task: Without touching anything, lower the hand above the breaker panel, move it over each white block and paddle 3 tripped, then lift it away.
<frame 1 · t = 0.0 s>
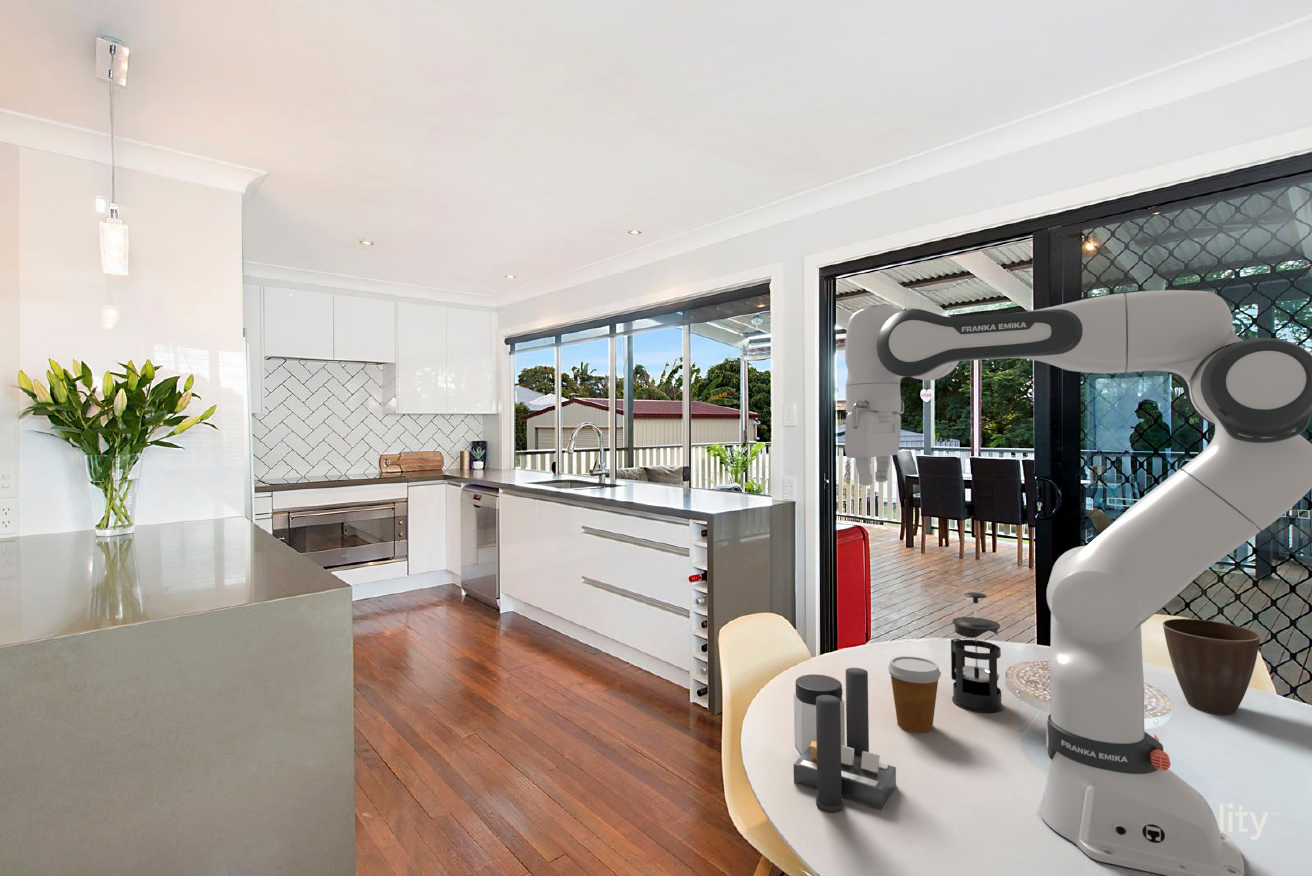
hand: (873, 483, 108), 48 cm above the table, fingers open, 8 cm apart
paddle 3 tripped: (818, 751, 104), point 5 cm above the table, hinge at -20.0°
white block 1: (870, 761, 101), point 5 cm above the table, hinge at 20.0°
cord post outer: (829, 805, 97), on the table
white block 2: (845, 754, 103), point 5 cm above the table, hinge at 20.0°
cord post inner: (857, 765, 108), on the table
plant pot: (1211, 708, 129), on the table
jar: (819, 750, 114), on the table
french press: (975, 703, 133), on the table
disposable coffee cup: (914, 726, 123), on the table
breaker panel: (844, 784, 102), on the table
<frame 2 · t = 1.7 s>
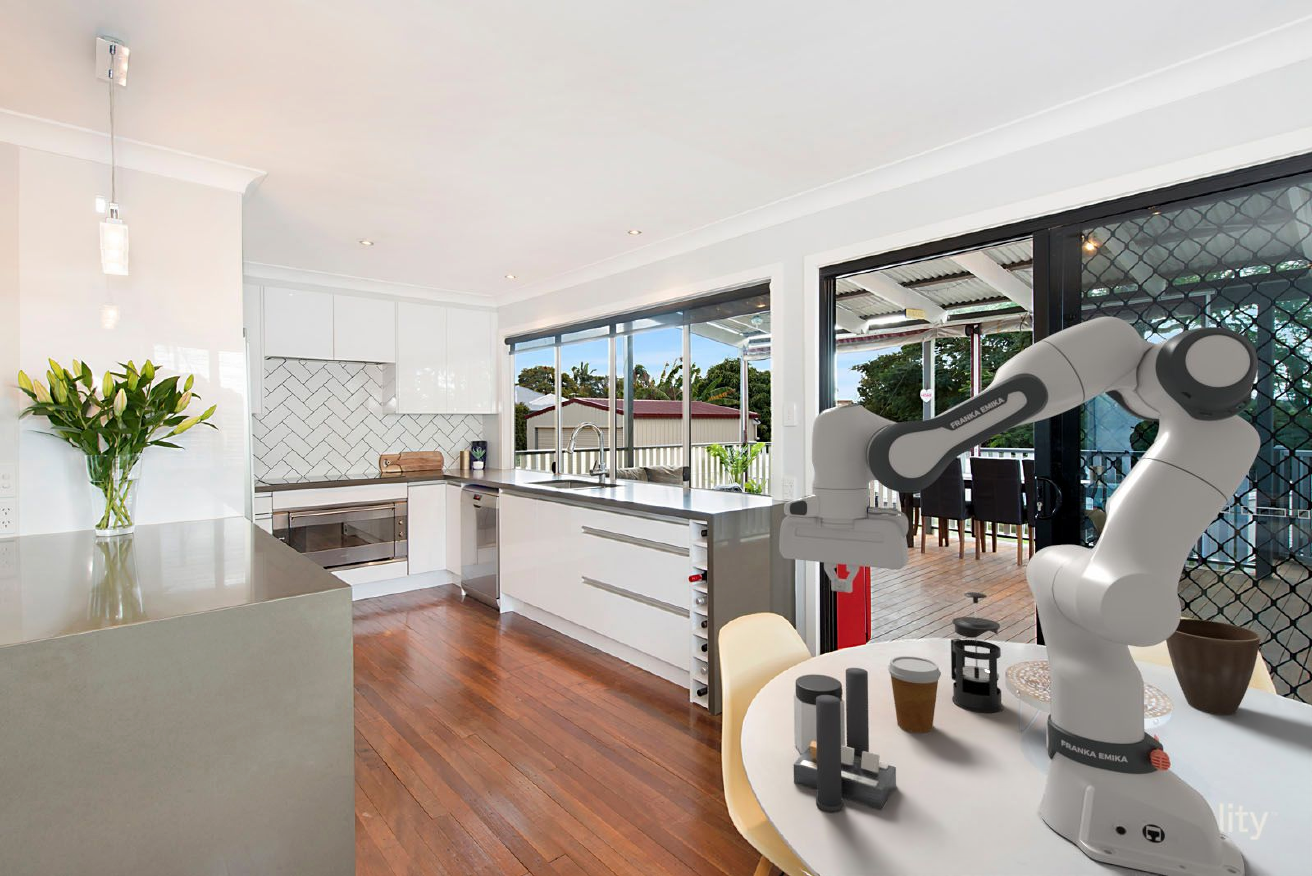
hand: (841, 591, 102), 31 cm above the table, fingers closed
nothing on the table moved.
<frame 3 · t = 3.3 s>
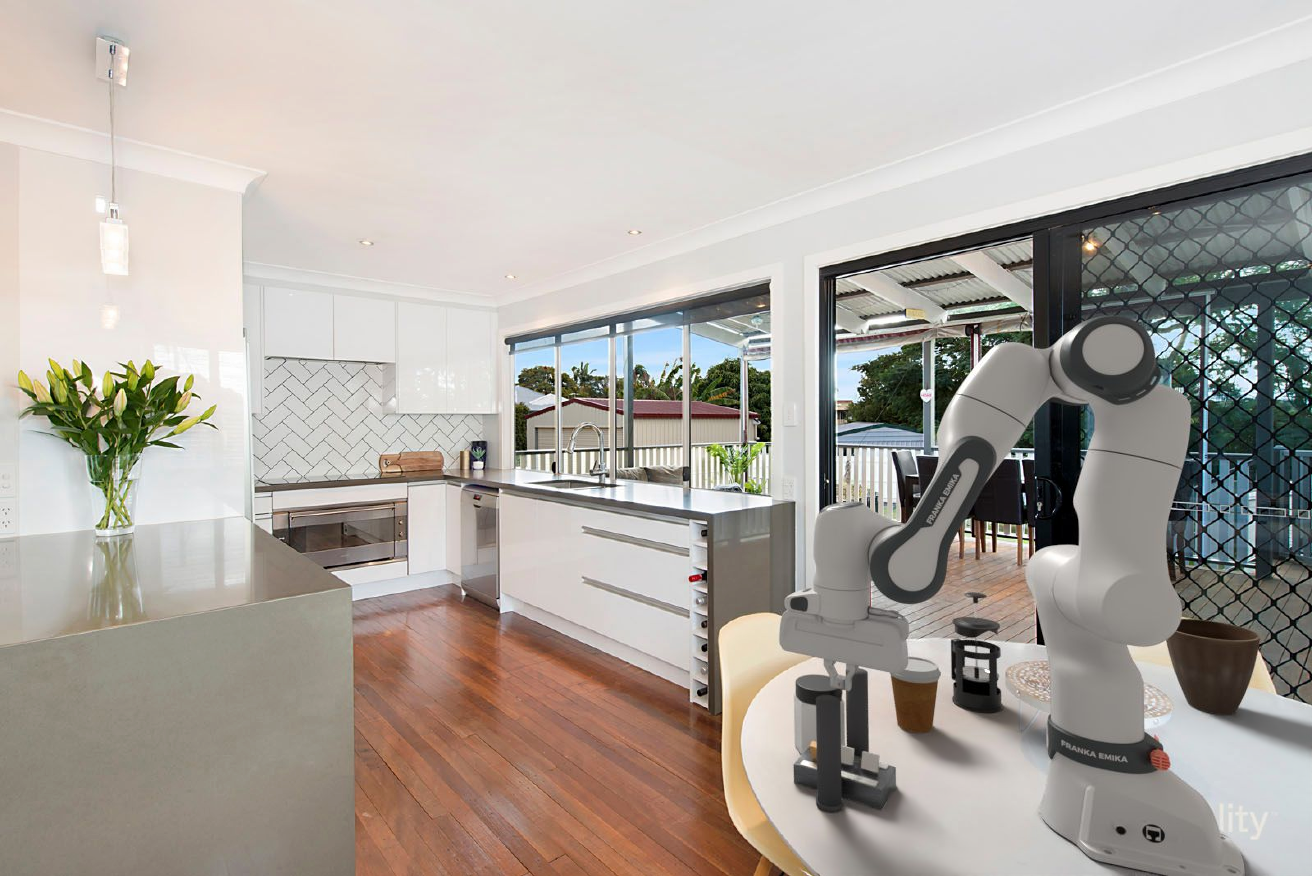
hand: (840, 688, 103), 15 cm above the table, fingers closed
nothing on the table moved.
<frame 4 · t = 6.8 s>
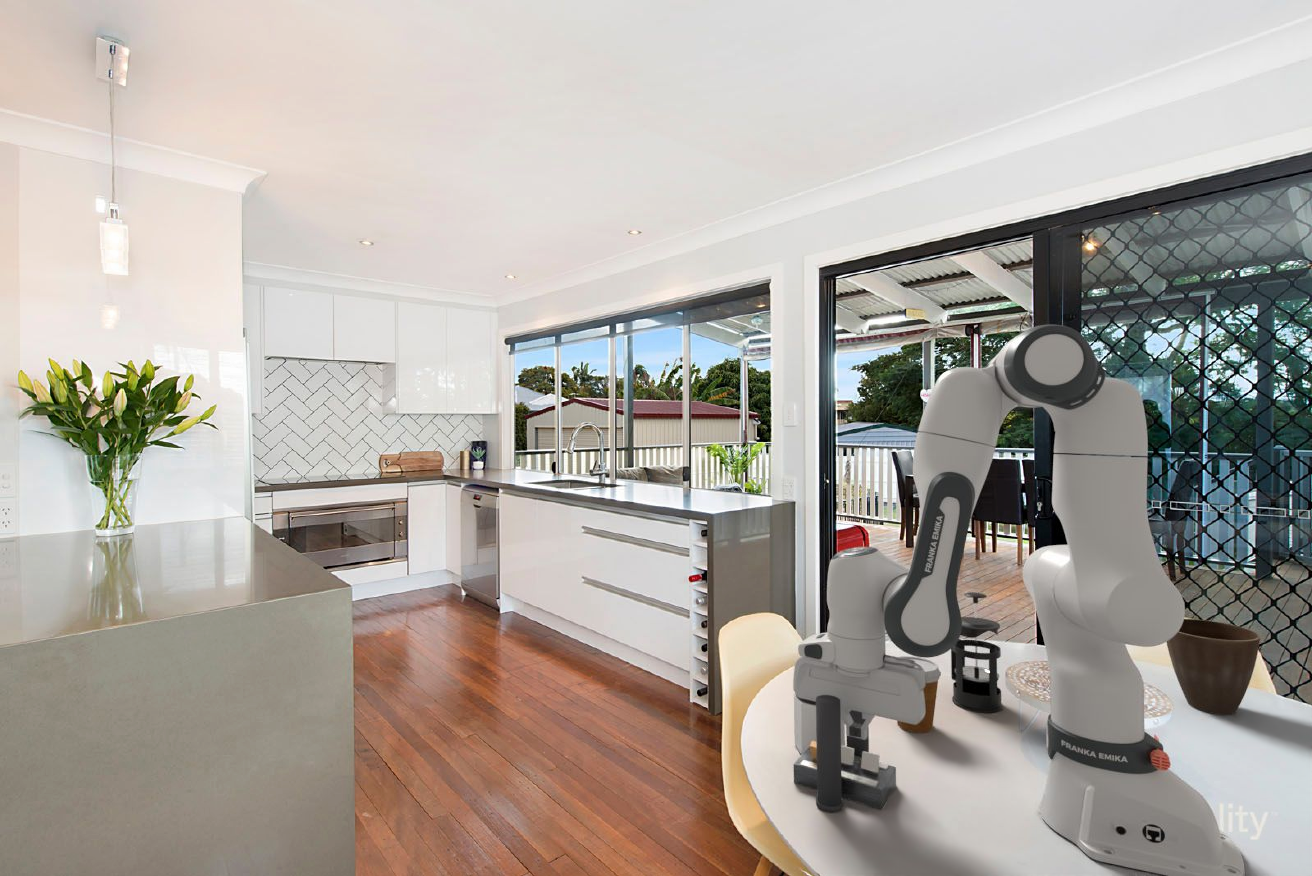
hand: (857, 736, 101), 8 cm above the table, fingers closed
nothing on the table moved.
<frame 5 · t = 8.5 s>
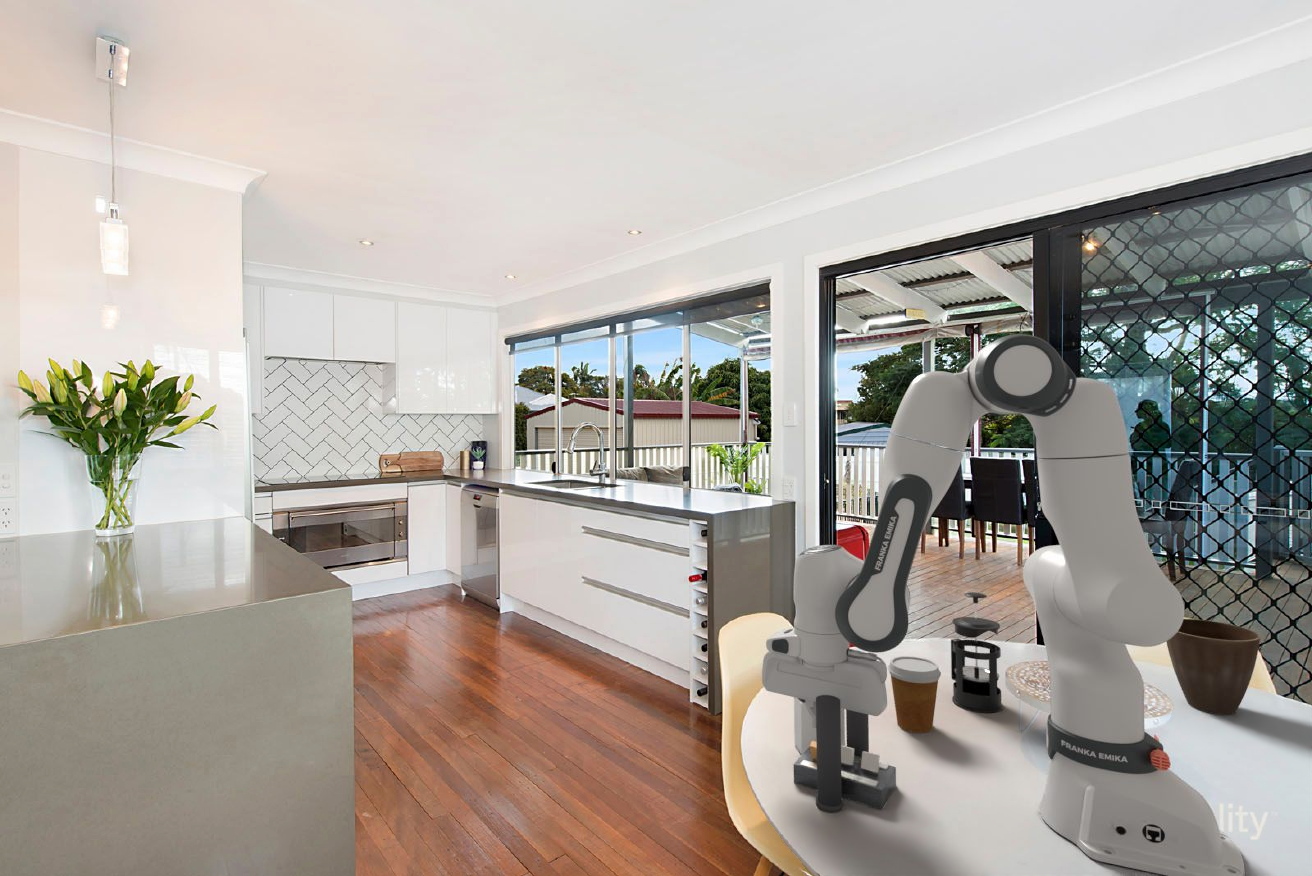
hand: (822, 728, 104), 8 cm above the table, fingers closed
nothing on the table moved.
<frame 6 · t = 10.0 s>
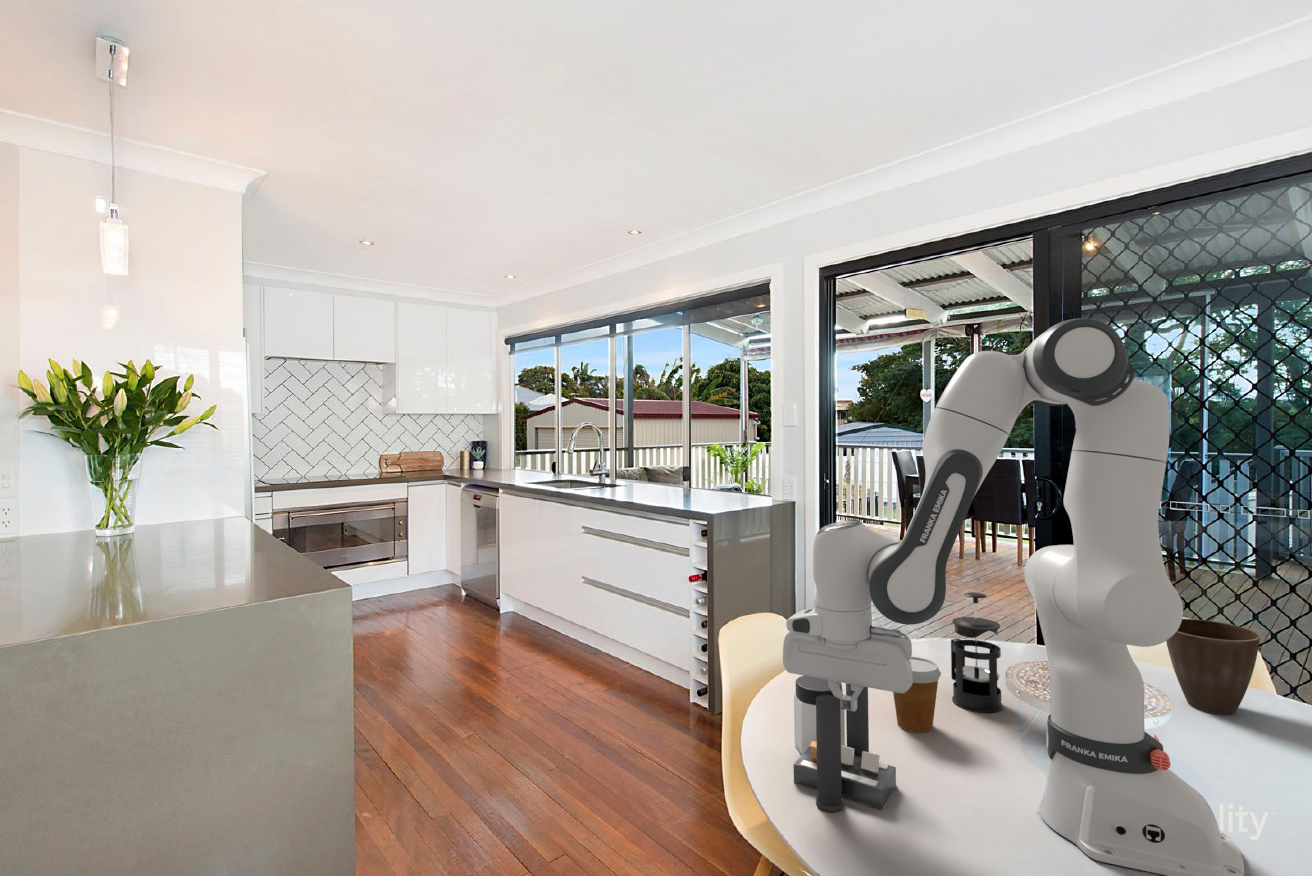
hand: (846, 708, 102), 12 cm above the table, fingers closed
nothing on the table moved.
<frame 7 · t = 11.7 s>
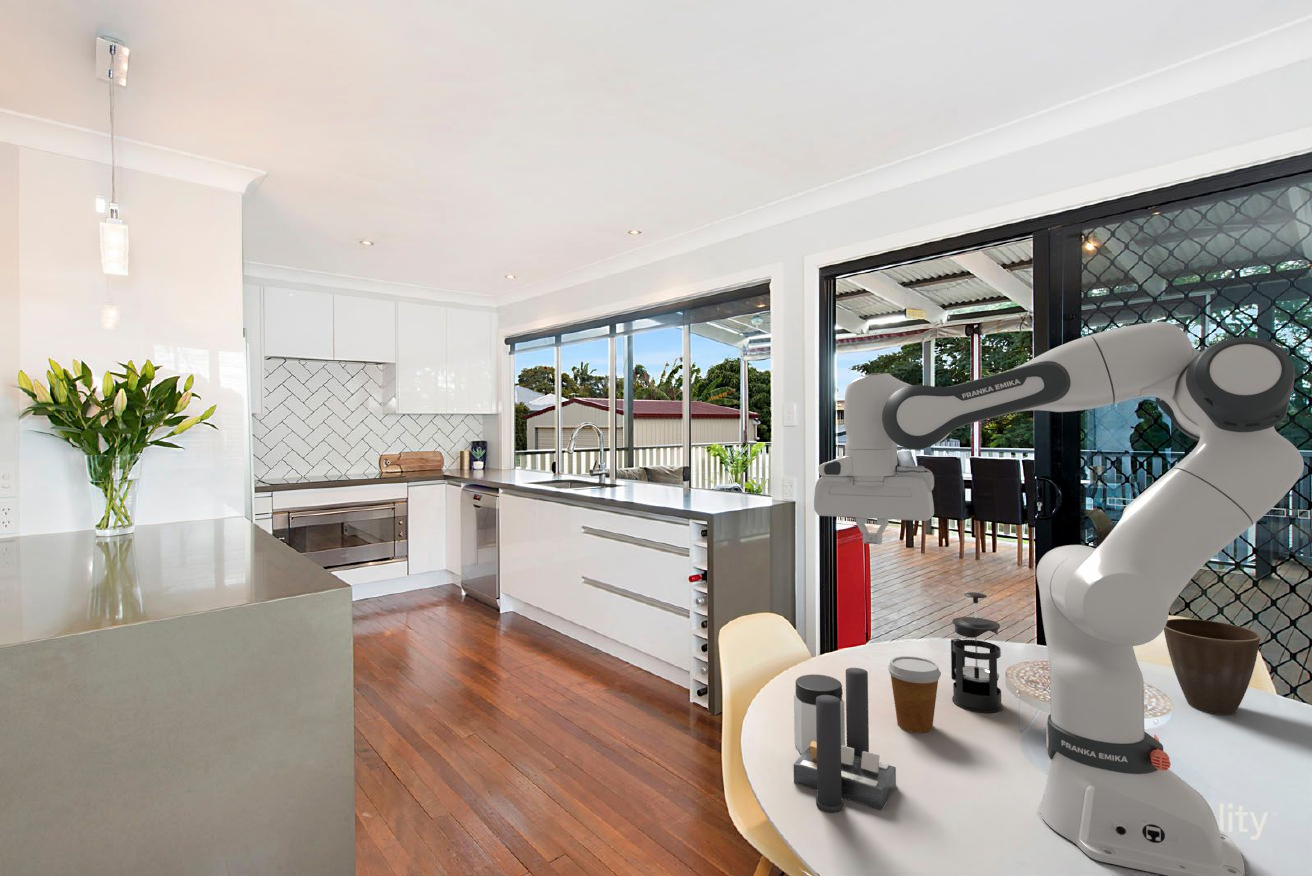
hand: (872, 543, 113), 37 cm above the table, fingers closed
nothing on the table moved.
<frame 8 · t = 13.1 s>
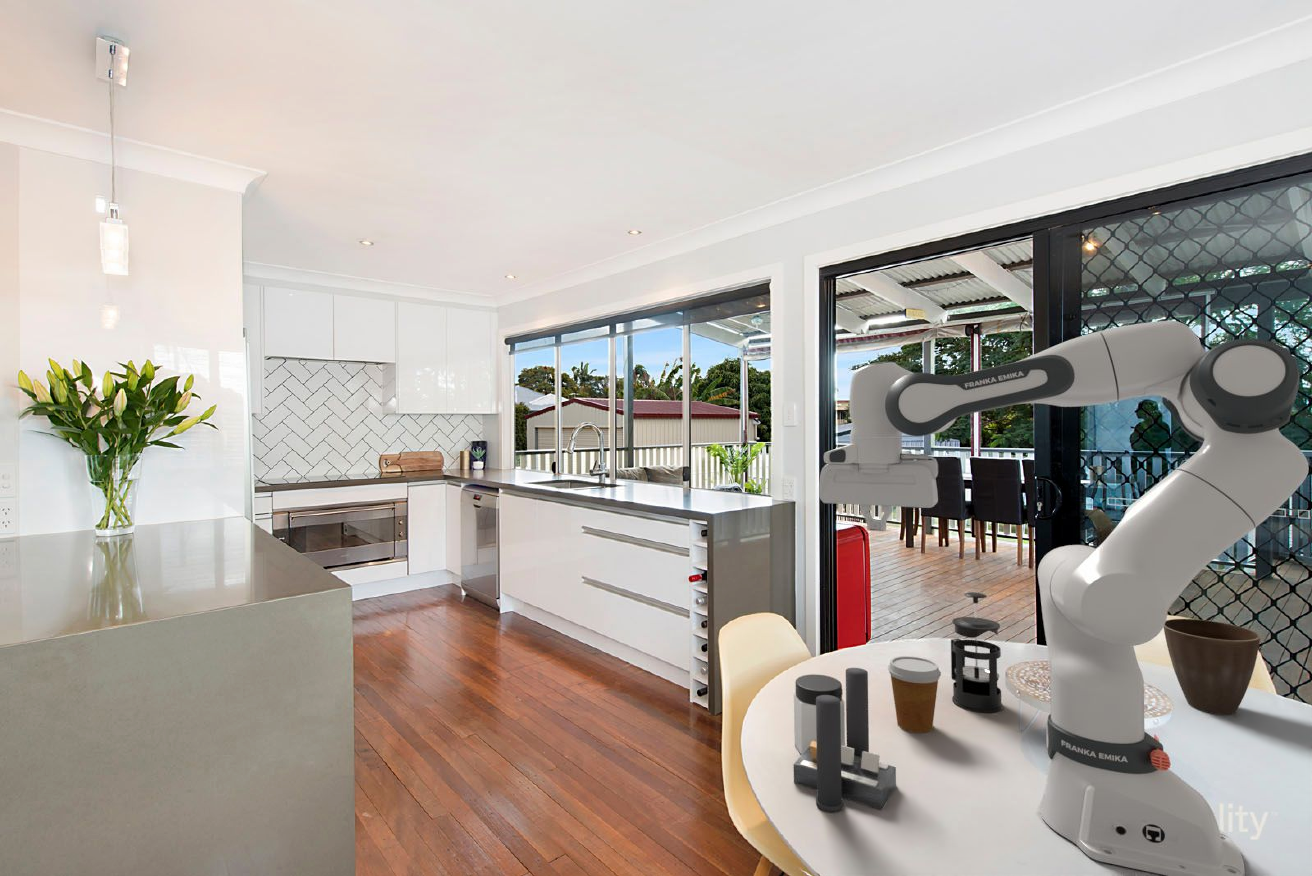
hand: (876, 530, 114), 39 cm above the table, fingers closed
nothing on the table moved.
at the end: paddle 3 tripped at -20° (first picture: -20°); white block 2 at +20° (first picture: +20°); jar moved 0.2 cm from its start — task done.
